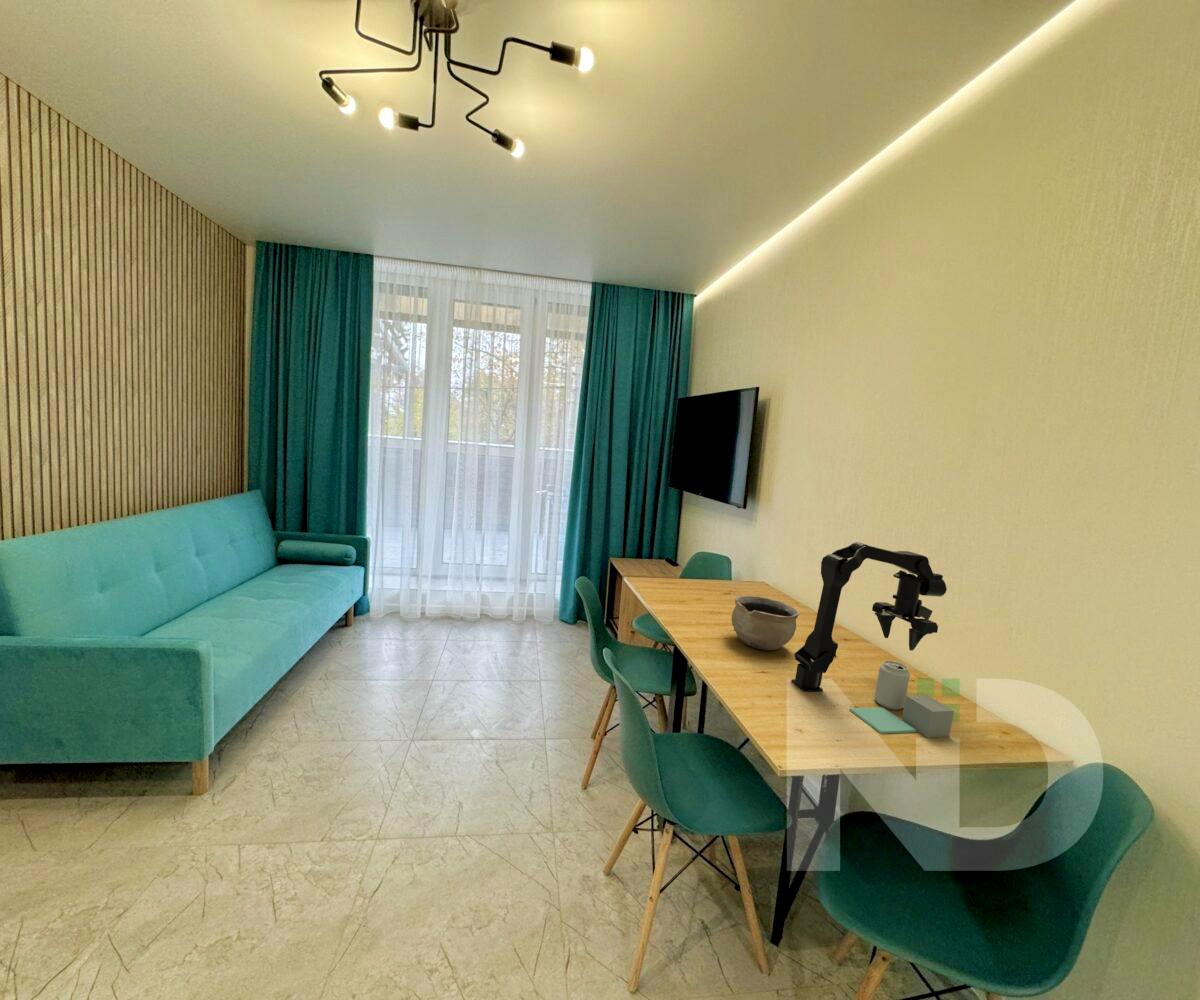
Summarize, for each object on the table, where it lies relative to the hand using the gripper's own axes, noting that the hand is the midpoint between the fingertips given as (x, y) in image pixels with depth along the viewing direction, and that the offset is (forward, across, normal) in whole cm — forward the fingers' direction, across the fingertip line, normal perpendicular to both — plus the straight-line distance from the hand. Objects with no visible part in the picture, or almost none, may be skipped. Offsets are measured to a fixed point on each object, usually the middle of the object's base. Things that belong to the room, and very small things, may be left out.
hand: (898, 644), depth 154 cm
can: (+15, -9, +9) cm, 19 cm away
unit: (+14, -21, +9) cm, 27 cm away
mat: (+14, -16, +19) cm, 29 cm away
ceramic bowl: (+15, +33, +25) cm, 43 cm away
